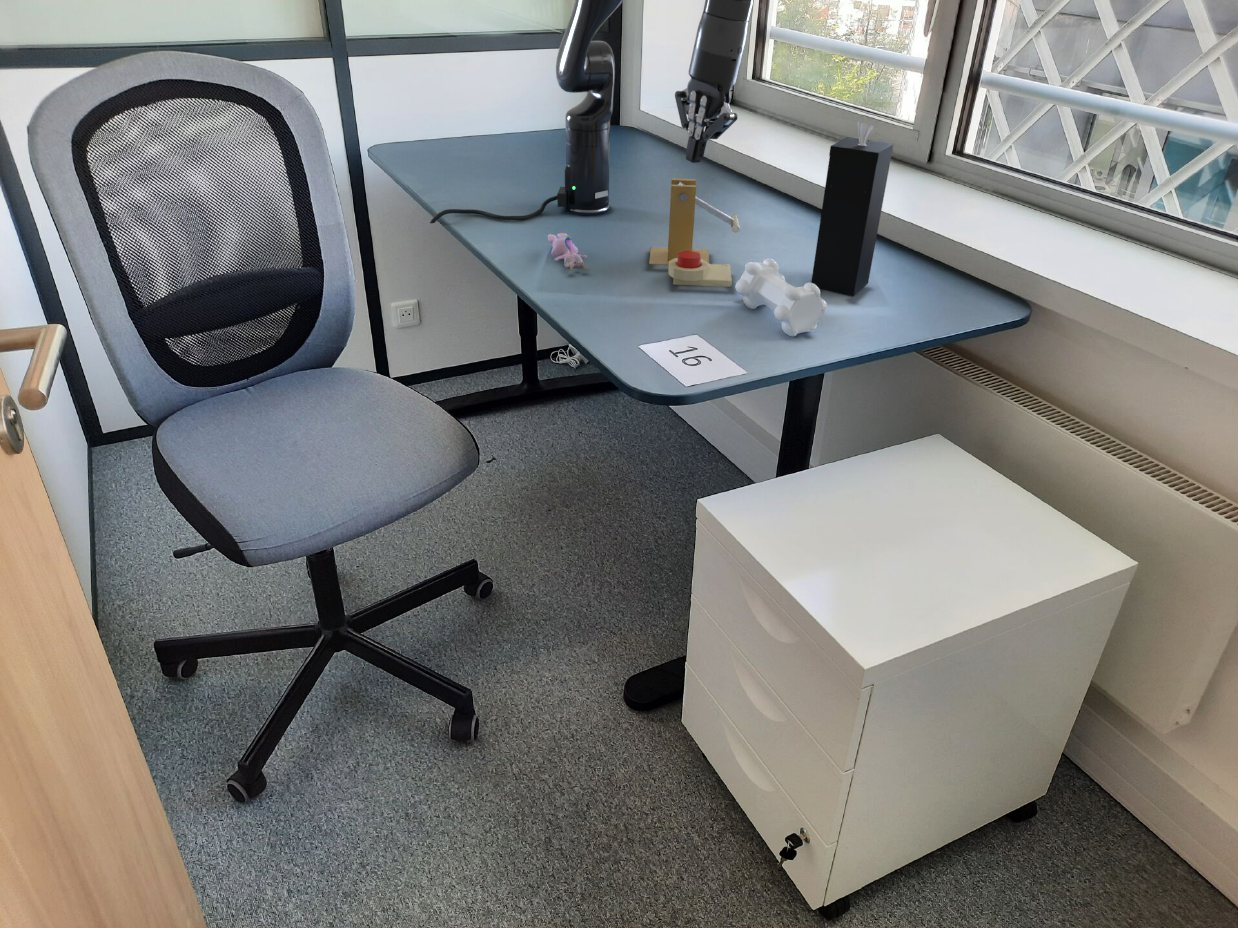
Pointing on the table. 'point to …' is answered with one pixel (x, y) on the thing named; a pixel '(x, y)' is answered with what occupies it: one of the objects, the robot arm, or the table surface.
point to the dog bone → (781, 297)
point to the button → (689, 259)
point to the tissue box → (851, 212)
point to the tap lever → (718, 213)
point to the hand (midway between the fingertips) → (693, 161)
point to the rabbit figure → (566, 250)
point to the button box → (701, 274)
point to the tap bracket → (679, 224)
